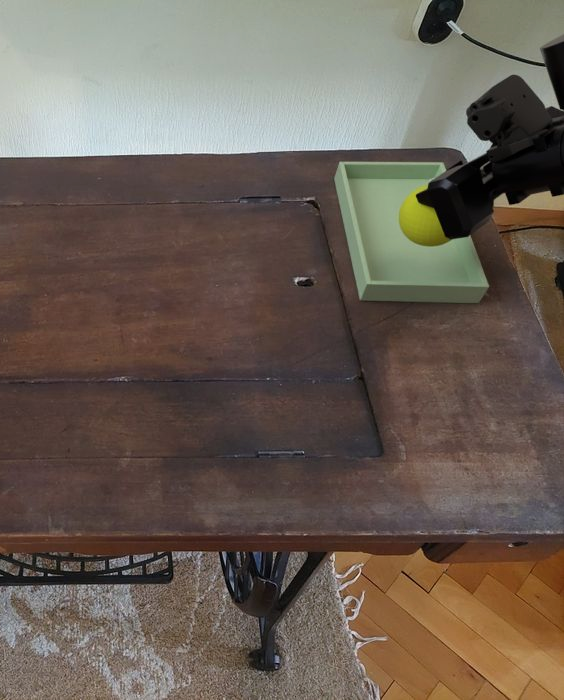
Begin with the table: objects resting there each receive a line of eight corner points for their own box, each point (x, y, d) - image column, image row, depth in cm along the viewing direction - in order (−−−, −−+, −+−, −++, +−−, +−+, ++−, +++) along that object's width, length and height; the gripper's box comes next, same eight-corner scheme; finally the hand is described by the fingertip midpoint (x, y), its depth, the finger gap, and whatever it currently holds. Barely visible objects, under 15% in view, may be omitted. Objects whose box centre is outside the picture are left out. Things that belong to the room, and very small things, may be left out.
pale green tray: (435, 179, 93) (443, 162, 91) (478, 303, 80) (489, 286, 77) (334, 178, 95) (339, 161, 92) (359, 300, 81) (366, 284, 79)
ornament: (378, 236, 78) (405, 169, 70) (413, 209, 81) (443, 140, 73) (430, 268, 75) (465, 200, 67) (466, 239, 77) (503, 170, 69)
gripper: (609, 30, 60) (458, 89, 74) (487, 109, 54) (348, 157, 68) (644, 142, 62) (490, 178, 77) (531, 229, 56) (387, 251, 71)
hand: (431, 188), depth 73 cm, fingers closed on ornament, 5 cm apart
